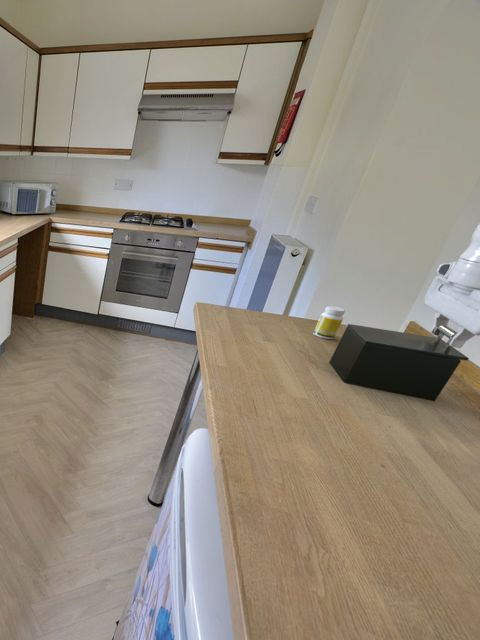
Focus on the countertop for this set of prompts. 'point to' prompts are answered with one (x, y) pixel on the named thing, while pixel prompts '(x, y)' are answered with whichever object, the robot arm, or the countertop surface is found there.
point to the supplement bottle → (329, 322)
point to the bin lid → (410, 341)
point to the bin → (391, 368)
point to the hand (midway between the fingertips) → (444, 340)
